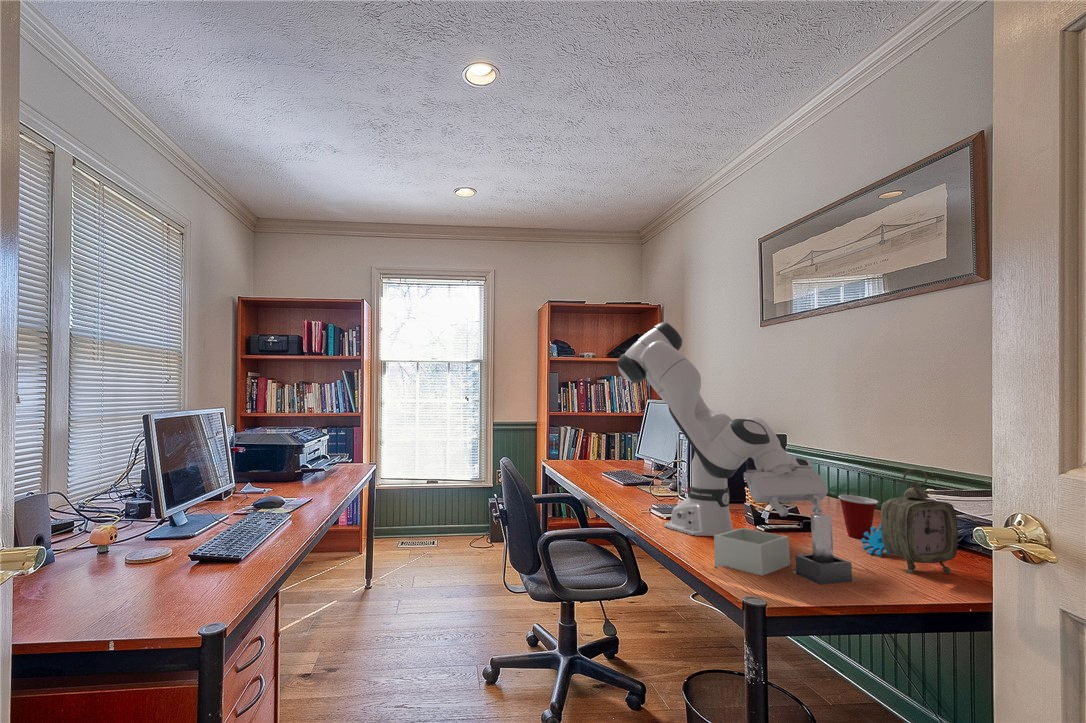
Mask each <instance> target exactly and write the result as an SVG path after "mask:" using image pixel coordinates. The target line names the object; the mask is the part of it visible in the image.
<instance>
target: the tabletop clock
mask: <svg viewBox="0 0 1086 723" xmlns="http://www.w3.org/2000/svg"><path fill="white" fill-rule="evenodd" d="M911 473H920V474H922V475H923V476H924V477H925V478H924V479H925V480H924V481H923V482H920V483H919V481H918V480H913V481H912V483H910V482H908V481H906V477H907V476H908V474H911ZM902 481H903V483H904V484H905V485H906V486H908V488H907V489H906V490H905V492H904V493H903V496H900V497H893V498H889V499H887V500H886V501H884V502H882V504H881V507H880V508H881V509H880V525H881V534H882V541H883V544H884V547H885V549H886V550H887V552H889V553H891V554H892V555H894V556H898V557H900V558H903V559H905V561H906V562H907V564H906V565H907V569H906V570H905V574H908V575H913V574H914V572H913V571H914V570H915V569H916V568H917V566H916V565H915V563H918V564H919V563H920V564H936V563H937V564H939V565H941V567H942V572H943V573H944V574H947V575H948V574H950V573H951V572H952V569H951V568H950V567H949V566H946V565H945V564H944V562H948V561H951V560H953V559H954V558H956V556H957V553H958V548H959V547H958V546H959V545H958V544H959V528H958V520H957V513H956V510H955V507H954V505H953V504H951V503H949V502H945V501H940V500H935V499H931V498H930V497H929V495H928V493H927V491H925V490H924V489H923V488H920V487H922V486H924V485H925V484H926V483H927V481H928V475H927V473H926V472H925V471H923V470H922V469H917V468H916V469H909V470H907V471H906V472H905V473H904V474H903V476H902ZM909 487H910V488H909ZM929 498H930V499H929ZM885 549H884V550H885ZM891 554H890V555H891Z"/></svg>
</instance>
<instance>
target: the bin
mask: <svg viewBox="0 0 1086 723" xmlns="http://www.w3.org/2000/svg"><path fill="white" fill-rule="evenodd" d="M713 547H714V553H713V554H714V568H715V567H717V568H716V569H718V568H721V567H726V568H731V569H734V570H738V571H742V572H746V573H749V574H754V575H757V576H765V575H767V574H771V573H773V572H776V571H778V570H781V569H785V568H786V567H789V566H791V564H790V563H791V562H790V559H791V558H790V537H789V536H787V535H782V534H776V533H771V532H766V531H760V530H755V529H750V528H746V527H740V528H737V529H733V530H732V531H729V532H725V533H721V534H718V535H714V536H713Z"/></svg>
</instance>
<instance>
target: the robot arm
mask: <svg viewBox="0 0 1086 723" xmlns="http://www.w3.org/2000/svg"><path fill="white" fill-rule="evenodd" d="M682 344H683V338H682V336H681V333H680V332H679V330H678V329H677V328H676V327H675V326H673V325H671V324H670V323H668V322H664V321H663V322H659V323H658V324H656V325H654V326H653V327H652V329H650V330H648V331H647V332H645V333H644V334H643V335H642V336H640V337H639V338H638V339H637V341H635V342H634V343H633V344H632V345H631V346H630V347H629V348H628V349H627V350H626V351H625V353H622V354H621V355H620V356H619V358H618V359H617V361H616V366H617V367H618V372H619V373H620V375H621V377H622V378H623V379H625V380H626V381H628V382H630V383H631V384H640V383H642V382H644V381H645V380H646V381H647V382H648V383H649V385H650V386H651V388H652V389H653V390H654V391H655V393H656V394H657V395H658V396H659V397H660V399H661V400H662V401H663V402H664V404H665V405H666V406H667V407H668V411H669V413H670V415H671V418H672V419H673V420H674V422H675V424H676V425H677V427H678V428H679V429H680V431H681V433H682V434H683V436H684V437H685V438H686V440H687V441H688V443H689V444H690V446H691V448H692V449H693V450H694V454H693V458H692V461H691V486H690V487H687V488H685V491H684V493H687V492H688V494H687V497H686V498H685V499H683V500H682V501H681V502H679V503H678V504H676V506H674V507H673V509H672V512H671V517H670V520H669V521H666V522H665V523H664V527H665V528H666V527H667V529H670V530H673V529H674V531H676V530H677V532H679V533H680V532H681V533H683V532H684V534H686V533H687V535H690V534H691V535H690V536H693V535H695V537H697V536H699V537H700V536H707V537H709V536H710V537H711V536H712V537H714V535H718V534H721V533H725V532H729V531H732V530H734V527H733V523H732V520H731V519H732V518H731V513H730V506H729V505H730V489H729V487H728V479H730V478H733V476H734V475H735V473H736V472H737V471H738V469H740V468H741V466H742V465H743V464H744V463H745V462H746V461H747V460H748V459H749V458H751V459H753V462H754V466H755V468H756V469H746V471H744V472H743V475H742V476H743V479H744V480H745V482H746V484H747V487H748V491H749V494H750V496H751V499H752V500H753V501H754V502H756V503H757V504H769V506H770V507H771V508H773V509H774V510H776V511H777V512H778V515H779V516H780V517H788V516H789V510H788V508H787V507H786V506H784V505H781V503H791V502H810V503H811V505H812V504H813V506H812V508H811V509H810V510H811V512H812V514H823V509H822V507H821V506H820V505H821V504H820V503H821V501H823V500H824V499H825V497H826V496H827V495H828V494H829V488H828V486H827V484H826V483H825V481H824V479H823V478H822V477H821V475H820V474H819V473H818V472H817V471H816V470H815V469H814V468H812V467H813V464H812V463H811V461H810V460H808V459H804V458H799V457H796V456H794V455H791V454H788V452H787V451H786V450H785V449H784V448H783V447H782V444H781V441H780V439H779V438H778V436H777V435H776V432H774V430H773V429H772V427H771V426H770V425H769V424H768V423H767V422H766V421H765V420H764V419H763V418H761V417H758V416H750V417H747V418H734V419H732V418H731V417H730V416H729V415H727V414H726V413H725V412H722V411H719V410H712V409H711V408H709V406H708V405H707V404H706V403H705V401H704V399H703V398H702V395H701V393H700V391H701V387H702V377H701V374H700V372H699V370H698V368H697V367H696V366H695V365H694V364H693V363H692V362H691V361H690V360H689V359H688V358H687V357H686V356H685V355H684V354H683V353H682V352H680V349H681V347H682Z"/></svg>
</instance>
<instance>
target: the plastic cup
mask: <svg viewBox="0 0 1086 723" xmlns="http://www.w3.org/2000/svg"><path fill="white" fill-rule="evenodd" d="M837 497H838V499H839V501H840V505H841V506H840V507H841V509H842V514H843V519H844V523H845V524H844V525H845V526H846V527H845V528H846V532H847V535H848V537H849V538H852V539H857V540H861V539H862V538H865V539H866V540H869V538H868V537H865V535H864V533H865V532H866V531H867V532H868V533H869V534H870V535H871V534H872V531H871V529H870V528H871V527H873V521H874V520H873V519H874V515H875V509H876V506H878V503H879V501H878V500H876V499H874V498H870V497H865V496H859V495H850V494H841V495H840V494H839V495H838V496H837Z"/></svg>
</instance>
